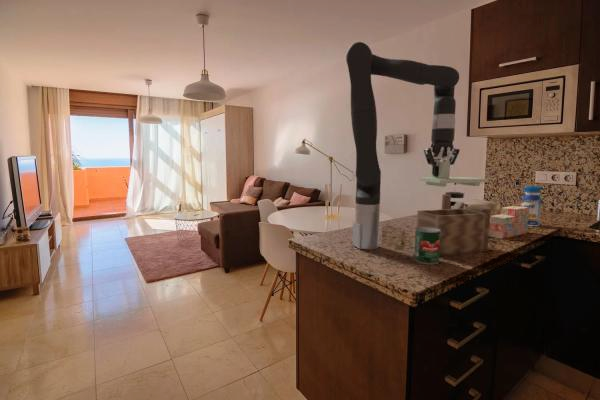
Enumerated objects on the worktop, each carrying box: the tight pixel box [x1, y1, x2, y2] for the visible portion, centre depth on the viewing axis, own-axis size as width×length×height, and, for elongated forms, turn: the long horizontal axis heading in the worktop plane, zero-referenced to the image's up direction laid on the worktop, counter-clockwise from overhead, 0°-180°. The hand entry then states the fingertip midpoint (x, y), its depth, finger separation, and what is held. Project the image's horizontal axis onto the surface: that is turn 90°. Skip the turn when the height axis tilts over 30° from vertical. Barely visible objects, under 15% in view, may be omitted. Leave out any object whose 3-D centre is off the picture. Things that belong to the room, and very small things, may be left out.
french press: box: [444, 183, 469, 209], centre depth 164 cm, size 12×9×23 cm
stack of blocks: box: [489, 205, 529, 240], centre depth 147 cm, size 21×6×12 cm, turn 122°
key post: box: [466, 205, 492, 252], centre depth 125 cm, size 4×8×16 cm, turn 14°
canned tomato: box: [413, 226, 441, 265], centre depth 110 cm, size 8×8×11 cm
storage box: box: [416, 208, 486, 257], centre depth 122 cm, size 20×12×14 cm, turn 104°
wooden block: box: [440, 193, 464, 210], centre depth 150 cm, size 4×11×18 cm, turn 113°
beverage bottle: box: [520, 185, 543, 227], centre depth 166 cm, size 8×8×20 cm
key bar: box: [468, 198, 501, 211], centre depth 124 cm, size 3×12×2 cm, turn 14°
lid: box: [418, 161, 489, 188], centre depth 119 cm, size 20×12×9 cm, turn 104°
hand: (440, 176), depth 118 cm, fingers closed on lid, 3 cm apart
